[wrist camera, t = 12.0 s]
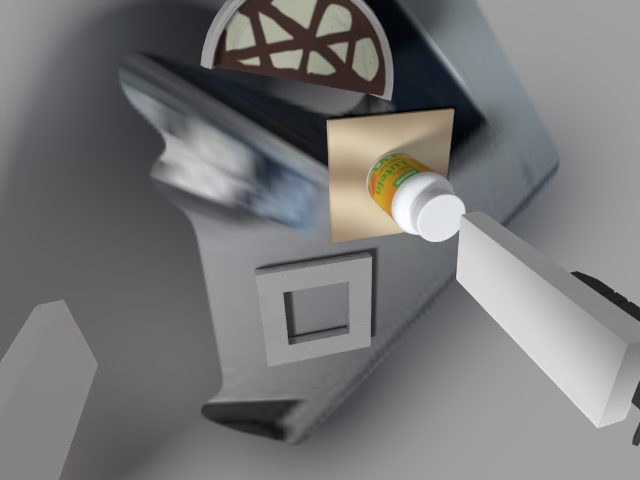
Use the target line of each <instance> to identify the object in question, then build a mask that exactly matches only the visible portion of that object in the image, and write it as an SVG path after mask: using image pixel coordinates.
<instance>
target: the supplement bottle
mask: <svg viewBox="0 0 640 480" xmlns="http://www.w3.org/2000/svg"><path fill="white" fill-rule="evenodd" d="M366 185H367V190H368V193H369V195H370V197H371V198H372V199H373V200H374V201H375V202H376V204H377V205H378V206H379V207H380V208H381V209H382V210H383V211H384V212H385V213H386V214H387V215H388V216H389V217H390V218H391V219H392V220H393V221H394V222H395V223H396V224H397V225H398V226H399V227H400V228H401V229H402V230H404V231H406V232H408V233H410V234H415V235H421V236H422V237H423V238H424V239H426V240H428V241H433V242H438V241H443V240H446V239H448V238H450V237H451V236H453V235H454V234H455V233H456V232H457V231H458V230H459V229H460V220H461V215H463V214H465V206H464V204H463V202H462V200H461V199H460V198H459V197H458V196H456V195H455V193H454V190H453V187H452V185H451V184H450V182H449V181H448V180H447V179H446V178H444V177H443V176H442V175H440V174H439V173H437V172H436V171H434V170H432V169H431V168H429V167H427V166H426V165H424V164H422V163H421V162H419V161H417V160H416V159H414V158H413V157H411V156H409V155H407V154H405V153H400V152H393V153H389V154H386V155H384V156H382V157H380V158H379V159H378V160H377V161H376V162H375V163H374V164H373V165H372V167H371V168H370V170H369V173H368V176H367V181H366Z"/></svg>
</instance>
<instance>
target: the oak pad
mask: <svg viewBox="0 0 640 480" xmlns="http://www.w3.org/2000/svg"><path fill="white" fill-rule="evenodd" d="M453 117H454V109H452V108H448V109H437V110H426V111H415V112H404V113H393V114H382V115H371V116H360V117H349V118H338V119H327V137H328V166H329V195H330V224H331V241H332V243H336V242H342V241H349V240H355V239H362V238H369V237H375V236H382V235H389V234H395V233H402V232H406V231H404V230H402V229H401V228H400V227H399V226H398V225H397V224H396V223H395V222H394V221H393V220H392V219H391V218H390V217H389V216H388V215H387V214H386V213H385V212H384V211H383V210H382V209H381V208H380V207H379V206H378V205H377V204H376V202H375V201H374V200H373V199H372V198H371V197H370V195H369V193H368V190H367V185H366V181H367V176H368V173H369V170H370V168H371V167H372V165H373V164H374V163H375V162H376V161H377V160H378V159H379V158H380V157H382V156H384V155H386V154H389V153H393V152H400V153H405V154H407V155H409V156H411V157H413V158H414V159H416V160H417V161H419V162H421V163H422V164H424V165H426V166H427V167H429V168H431V169H432V170H434V171H436V172H437V173H439V174H440V175H442V176H443V177H444V178H446V179H447V173H448V164H449V154H450V145H451V135H452V126H453Z"/></svg>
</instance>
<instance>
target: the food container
mask: <svg viewBox="0 0 640 480" xmlns="http://www.w3.org/2000/svg"><path fill="white" fill-rule="evenodd" d="M201 66H203V67H205V68H209V69H213V68H215V67H221V68H224V69H233V70H240V71H244V72H250V73H255V74H261V75H267V76H273V77H278V78H282V79H289V80H295V81H300V82H304V83H312V84H318V85H324V86H329V87H332V88H333V87H334V88H339V89H344V90H350V91H356V92H361V93H367V94H371V95H374V96H377V97H380V98H383V99H386V100H389V101H391V96H392V90H393V63H392V55H391V51H390V47H389V43H388V39H387V37H386V34H385V32H384V29H383V27H382V25H381V23H380V21H379V20H378V18H377V16H376V15H375V13H374V11H373V10H372V9H371V8H370V7H369V6H368V4H367V3H366V2H365V1H364V0H227V1H226V2H225V4H224V5H223V6H222V8H221V9H220V11H219V12H218V14H217V15H216V17H215V18H214V20H213V23H212V25H211V27H210V29H209V31H208V33H207V37H206V40H205V44H204V47H203V52H202V59H201Z"/></svg>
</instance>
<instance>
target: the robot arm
mask: <svg viewBox="0 0 640 480" xmlns="http://www.w3.org/2000/svg"><path fill="white" fill-rule="evenodd" d="M456 279H457V280H458V281H459V282H460V283H461V285H462V286H463V287H464V288H465V289H467V291H468V292H469V293H470V294H471V295H472V296H473V297H474V298H475V299H476V300H477V301H478V303H479V304H480V305H481V306H482V307H483V308H484V309H485V310H486V311H487V312H488V313H489V314H490V315H491V316H492V317H493V318H494V319H495V320H496V321H497V322H498V324H499V325H500V326H501V327H502V328H503V329H504V330H505V331H506V332H507V333H508V334H509V335H510V336H511V337H512V338H513V339H514V340H515V341H516V343H517V344H518V345H519V346H520V347H521V348H522V349H523V350H524V351H525V352H526V353H527V354H528V355H529V356H530V357H531V358H532V359H533V360H534V361H535V362H536V363H537V364H538V366H539V367H540V368H541V369H542V370H543V371H544V372H545V373H546V374H547V375H548V376H549V377H550V378H551V379H552V380H553V381H554V382H555V383H556V384H557V386H558V387H559V388H560V389H561V390H562V391H563V392H564V393H565V394H566V395H567V396H568V397H569V398H570V399H571V400H572V401H573V403H575V405H576V406H577V407H578V408H579V409H580V410H581V411H582V412H583V413H584V414H585V415H586V416H587V417H588V418H589V419H590V420H591V421H592V422H593V424H594V425H595V426H596V427H597V428H600V427H603V426H606V425H609V424H612V423H616V422H619V421H622V420H625V418H626V416H627V413H628V411H629V408H630V406H631V404H632V403H633V404H634V405H635V406H637V407H638V408H639V409H640V308H639V307H638V306H637V305H635V304H634V303H632V302H628V301H627V299H626V298H625V297H623V296H622V295H620V294H619V293H617V292H616V293H614V290H613V289H611V288H609V287H608V286H607V285H605V284H604V283H602V282H601V281H599V280H598V279H595V278H593V277H590V276H588V275H585V274H583V273H580V272H578V271H576V272H571V273H569V272H568V271H566V270H565V269H563V268H562V267H561V266H559V265H558V264H556V263H555V262H553V261H552V260H550V259H549V258H548V257H546V256H545V255H543V254H542V253H541V252H539V251H538V250H536V249H535V248H533V247H532V246H531V245H529V244H528V243H526V242H525V241H523V240H522V239H521V238H519V237H517V236H516V235H515V234H513V233H512V232H511V231H509V230H508V229H506V228H505V227H503V226H502V225H501V224H499V223H498V222H496V221H495V220H493V219H492V218H491V217H489V216H488V215H486V214H485V213H483V212H482V211H477V212H472V213H468V214H463V215H461V220H460V234H459V248H458V262H457V276H456ZM97 366H98V364H97V362H96V360H95V358H94V356H93V355H92V353H91V351H90V349H89V347H88V345H87V343H86V341H85V339H84V338H83V336H82V334H81V332H80V330H79V328H78V326H77V324H76V323H75V321H74V319H73V317H72V315H71V313H70V312H69V310H68V308H67V306H66V304H65V302H64V300H60V301H56V302H51V303H46V304H41V305H37V306H36V307H35V308H34V310H33V312H32V313H31V315H30V316H29V318H28V319H27V321H26V323H25V324H24V326H23V328H22V329H21V331H20V332H19V334H18V335H17V337H16V339H15V340H14V342H13V343H12V345H11V347H10V348H9V350H8V351H7V353H6V354H5V356H4V358H3V359H2V361H1V363H0V480H59V478H60V474H61V472H62V469H63V466H64V463H65V460H66V457H67V454H68V451H69V448H70V445H71V442H72V439H73V436H74V434H75V430H76V427H77V425H78V421H79V419H80V416H81V413H82V410H83V407H84V404H85V401H86V398H87V395H88V392H89V389H90V386H91V383H92V380H93V378H94V375H95V372H96V369H97ZM639 443H640V423H639V426H638V428H637V430H636V433H635V435H634V437H633V443H632V444H633V445H636V446H638V445H639Z"/></svg>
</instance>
